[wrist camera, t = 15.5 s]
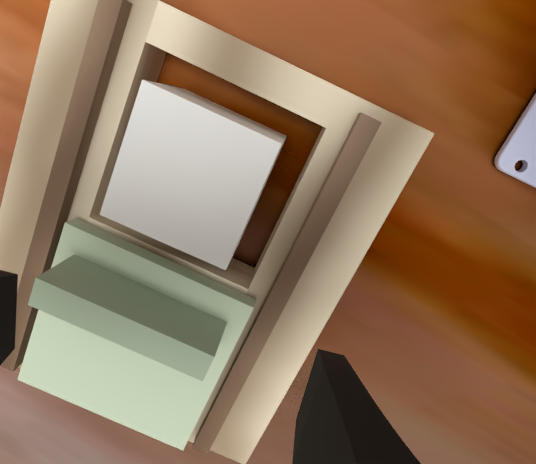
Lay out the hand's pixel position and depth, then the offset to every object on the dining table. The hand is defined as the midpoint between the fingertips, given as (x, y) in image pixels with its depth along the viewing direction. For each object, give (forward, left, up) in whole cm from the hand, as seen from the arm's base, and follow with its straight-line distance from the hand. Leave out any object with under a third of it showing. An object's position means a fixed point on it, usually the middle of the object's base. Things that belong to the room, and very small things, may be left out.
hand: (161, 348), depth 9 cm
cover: (+2, +6, -8) cm, 10 cm away
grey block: (+2, -2, -10) cm, 11 cm away
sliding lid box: (+2, +1, -10) cm, 11 cm away
